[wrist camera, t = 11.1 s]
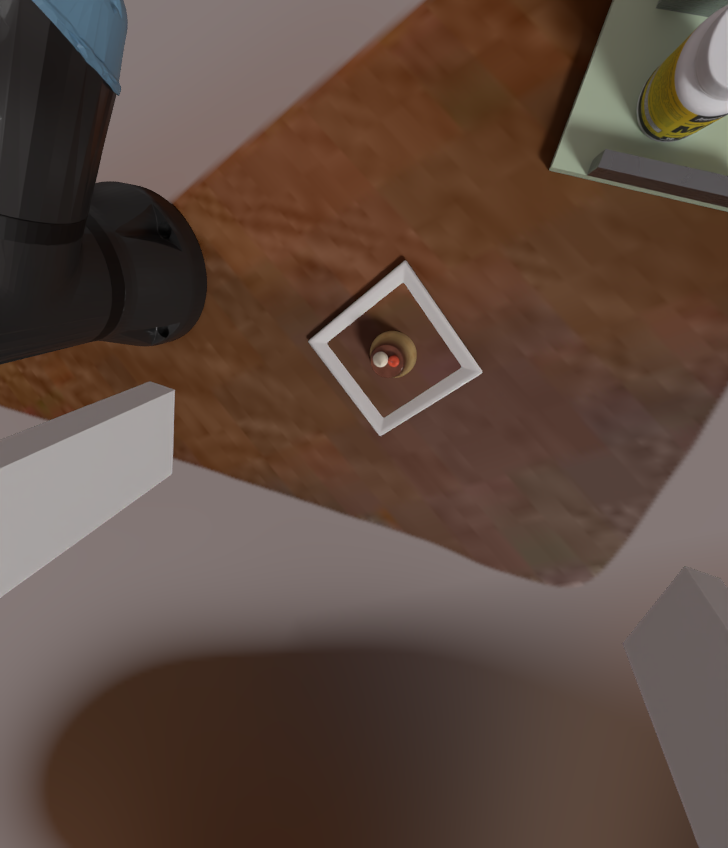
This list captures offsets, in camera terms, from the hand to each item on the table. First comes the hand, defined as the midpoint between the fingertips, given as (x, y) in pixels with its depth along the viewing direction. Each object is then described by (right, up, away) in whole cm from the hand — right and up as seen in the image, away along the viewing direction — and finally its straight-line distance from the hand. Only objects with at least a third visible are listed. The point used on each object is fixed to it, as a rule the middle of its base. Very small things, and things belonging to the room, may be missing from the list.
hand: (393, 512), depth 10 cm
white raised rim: (+2, +9, +29) cm, 30 cm away
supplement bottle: (+19, +23, +16) cm, 34 cm away
